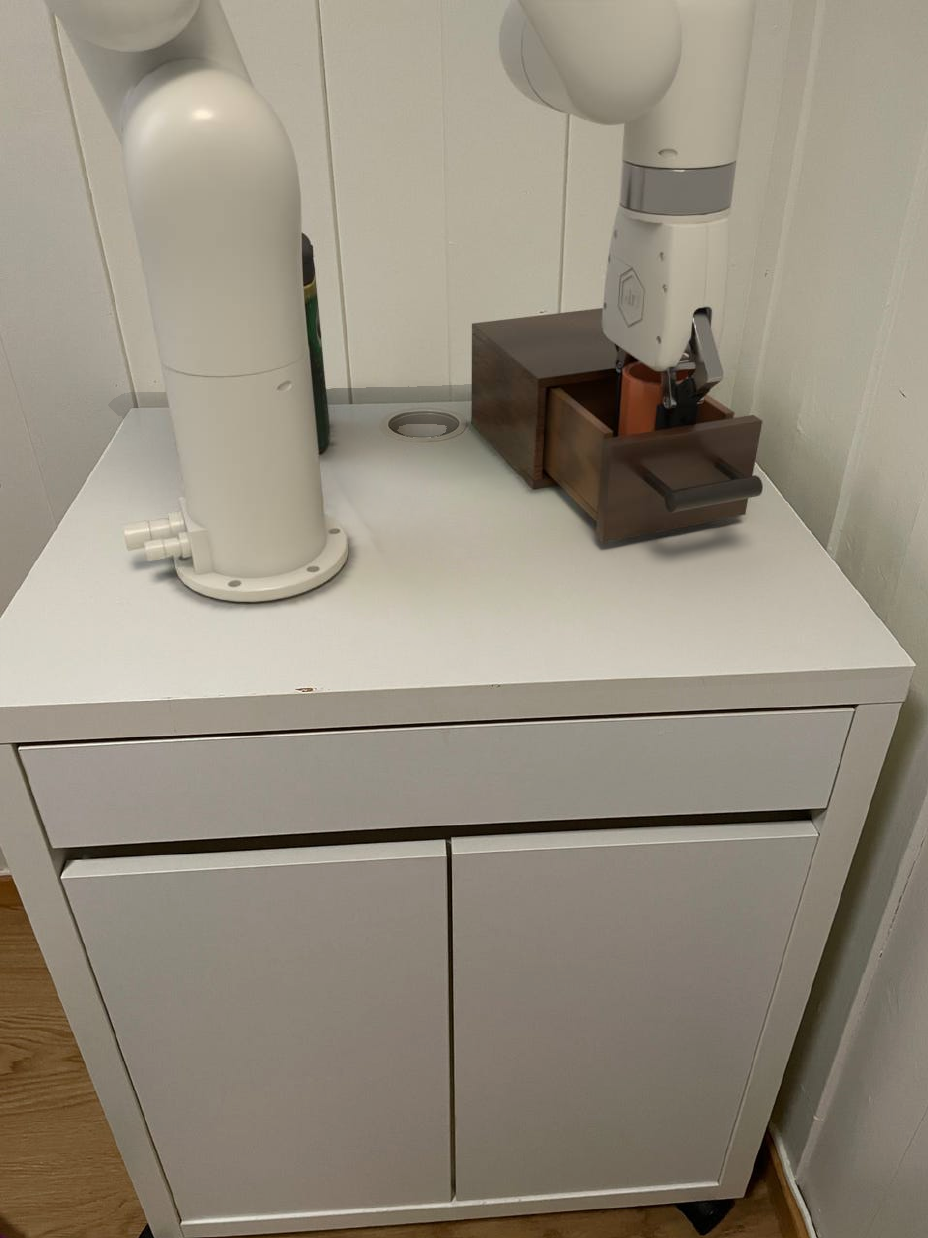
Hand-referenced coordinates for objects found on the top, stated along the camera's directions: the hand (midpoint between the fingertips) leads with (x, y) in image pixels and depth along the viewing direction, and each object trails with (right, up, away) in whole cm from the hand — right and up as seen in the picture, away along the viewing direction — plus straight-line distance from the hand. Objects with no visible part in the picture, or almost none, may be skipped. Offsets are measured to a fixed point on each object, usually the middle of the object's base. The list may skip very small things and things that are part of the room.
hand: (652, 434), depth 76 cm
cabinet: (-5, +2, +13) cm, 14 cm away
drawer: (0, -5, +1) cm, 5 cm away
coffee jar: (-31, +2, +13) cm, 34 cm away
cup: (0, -1, +1) cm, 1 cm away
